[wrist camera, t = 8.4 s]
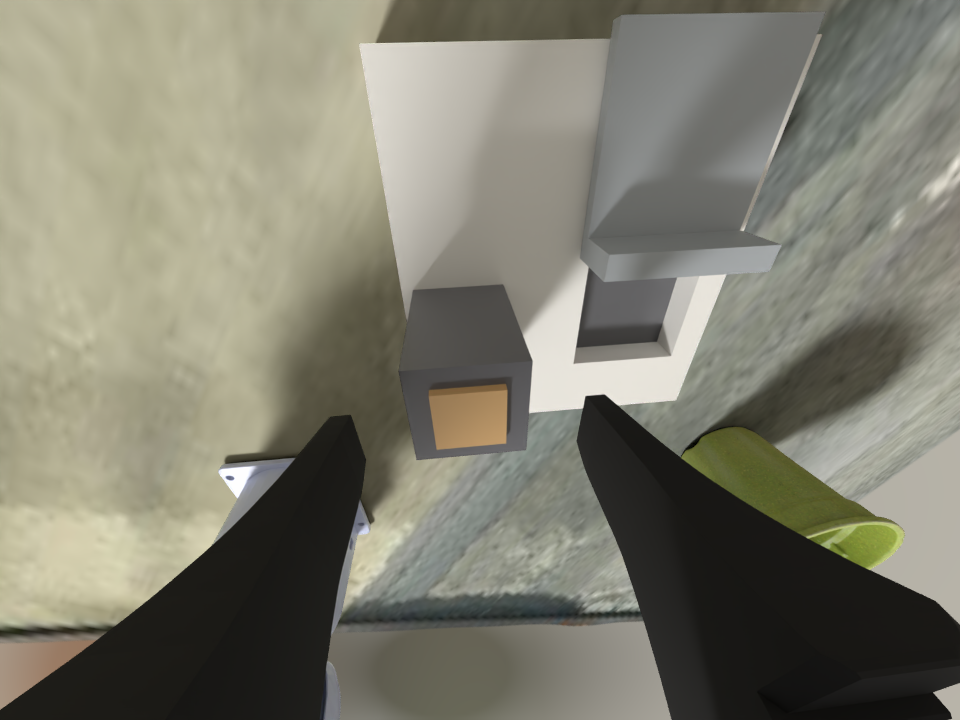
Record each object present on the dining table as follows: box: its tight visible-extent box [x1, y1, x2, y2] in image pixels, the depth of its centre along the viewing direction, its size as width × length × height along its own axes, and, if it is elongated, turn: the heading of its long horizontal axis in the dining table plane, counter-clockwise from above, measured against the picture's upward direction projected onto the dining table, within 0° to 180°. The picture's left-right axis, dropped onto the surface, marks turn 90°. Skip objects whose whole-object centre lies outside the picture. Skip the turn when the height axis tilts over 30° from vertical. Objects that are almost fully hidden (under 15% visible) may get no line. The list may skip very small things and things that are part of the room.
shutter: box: [580, 12, 826, 282], centre depth 12 cm, size 7×6×3 cm
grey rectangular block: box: [399, 284, 533, 460], centre depth 14 cm, size 4×4×6 cm
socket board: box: [359, 34, 822, 413], centre depth 16 cm, size 16×15×2 cm
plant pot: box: [681, 427, 905, 570], centre depth 23 cm, size 9×9×9 cm
